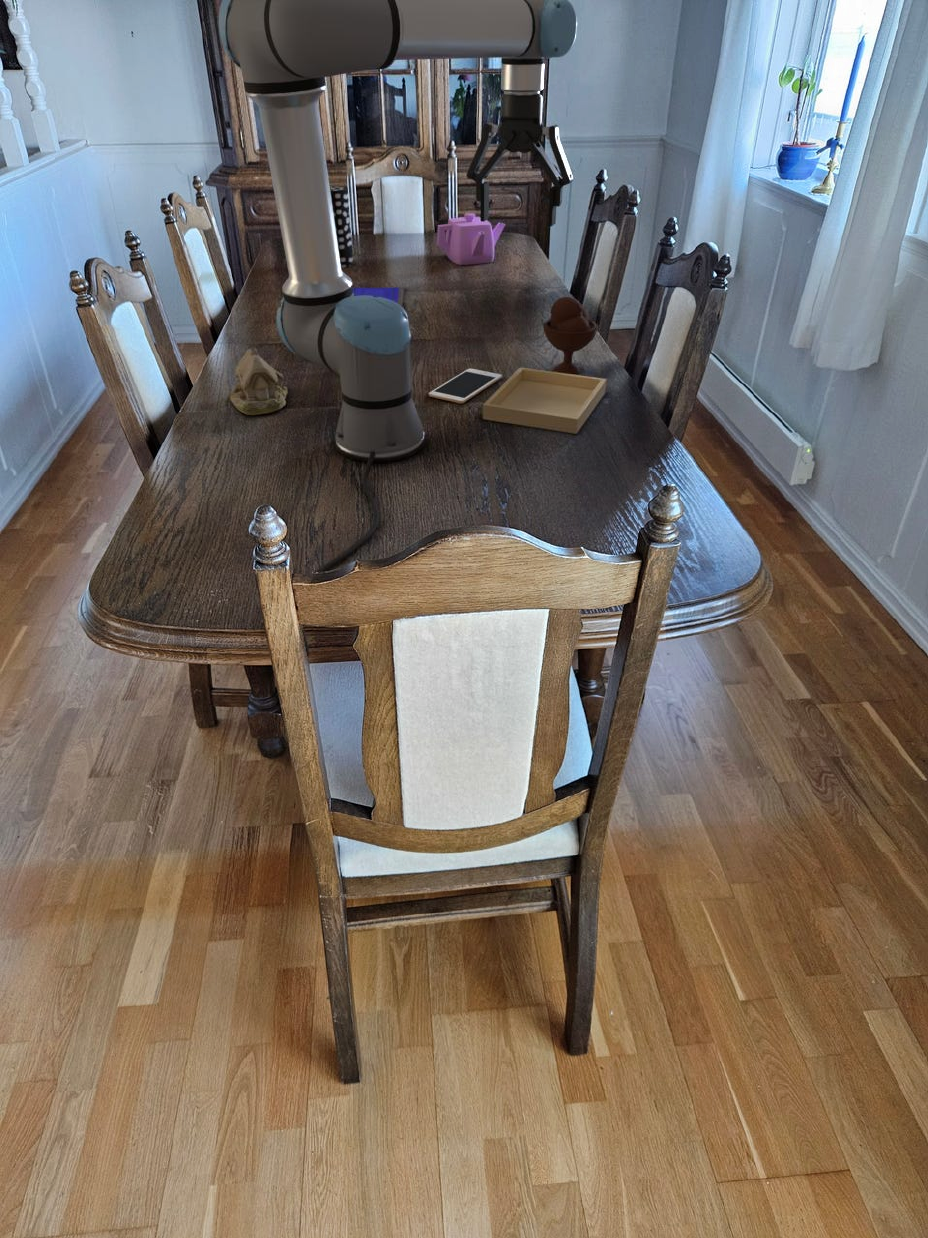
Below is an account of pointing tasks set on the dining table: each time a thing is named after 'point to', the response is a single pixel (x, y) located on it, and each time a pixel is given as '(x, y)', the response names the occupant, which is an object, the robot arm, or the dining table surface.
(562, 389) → the tray
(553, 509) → the dining table surface
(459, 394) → the cell phone
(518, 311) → the dining table surface
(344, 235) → the spotted tube
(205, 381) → the dining table surface
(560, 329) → the ice cream bowl
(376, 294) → the booklet
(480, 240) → the teakettle
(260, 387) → the ceramic model
